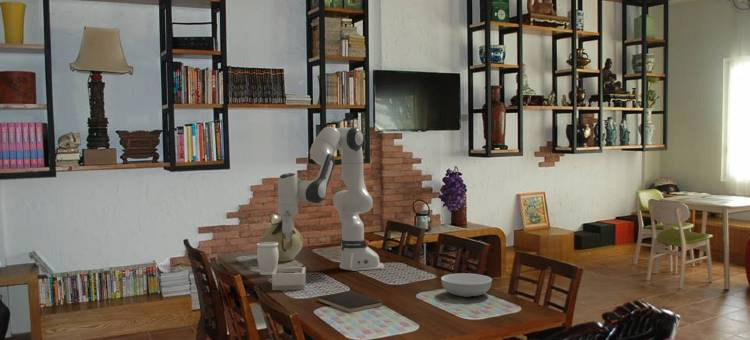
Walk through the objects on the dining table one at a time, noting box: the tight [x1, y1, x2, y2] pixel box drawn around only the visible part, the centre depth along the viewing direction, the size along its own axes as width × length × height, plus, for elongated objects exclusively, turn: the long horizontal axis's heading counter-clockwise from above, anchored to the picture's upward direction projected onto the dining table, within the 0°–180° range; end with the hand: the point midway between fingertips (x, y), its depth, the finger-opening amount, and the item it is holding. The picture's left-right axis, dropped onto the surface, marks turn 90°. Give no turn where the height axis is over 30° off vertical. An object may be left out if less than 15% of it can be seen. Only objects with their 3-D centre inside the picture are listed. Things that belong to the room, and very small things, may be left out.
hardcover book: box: [316, 290, 384, 313], centre depth 261 cm, size 16×23×2 cm
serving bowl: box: [440, 272, 493, 298], centre depth 273 cm, size 21×21×7 cm
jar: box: [256, 242, 279, 276], centre depth 319 cm, size 11×10×15 cm
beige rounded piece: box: [260, 212, 304, 263], centre depth 355 cm, size 22×24×25 cm
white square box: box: [271, 266, 307, 291], centre depth 292 cm, size 14×14×7 cm
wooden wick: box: [283, 226, 293, 249], centre depth 291 cm, size 4×2×10 cm, turn 94°
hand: (288, 241), depth 291 cm, fingers closed on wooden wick, 2 cm apart
